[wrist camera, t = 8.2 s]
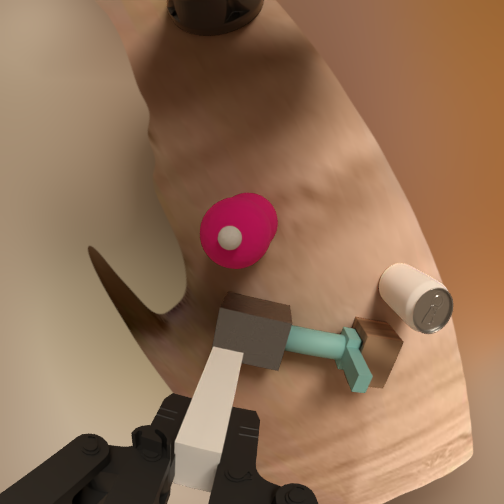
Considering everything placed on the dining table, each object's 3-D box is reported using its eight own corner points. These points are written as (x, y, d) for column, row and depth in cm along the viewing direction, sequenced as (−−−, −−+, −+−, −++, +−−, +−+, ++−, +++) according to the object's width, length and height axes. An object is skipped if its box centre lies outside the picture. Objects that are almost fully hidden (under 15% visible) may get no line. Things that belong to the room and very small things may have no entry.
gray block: (228, 291, 43) (219, 307, 37) (290, 305, 43) (292, 323, 36) (219, 334, 44) (210, 355, 38) (278, 347, 44) (278, 370, 38)
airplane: (267, 342, 43) (264, 386, 32) (275, 313, 42) (274, 350, 31) (368, 360, 42) (390, 403, 31) (379, 333, 41) (406, 371, 30)
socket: (355, 316, 42) (367, 336, 36) (387, 322, 42) (403, 341, 36) (339, 360, 44) (348, 384, 37) (370, 365, 44) (383, 388, 37)
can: (422, 271, 41) (464, 294, 29) (404, 309, 42) (439, 343, 30) (389, 255, 41) (426, 275, 29) (370, 296, 42) (400, 328, 30)
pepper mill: (268, 253, 42) (261, 301, 22) (217, 237, 42) (169, 271, 22) (284, 202, 40) (293, 205, 21) (232, 186, 41) (194, 176, 21)
